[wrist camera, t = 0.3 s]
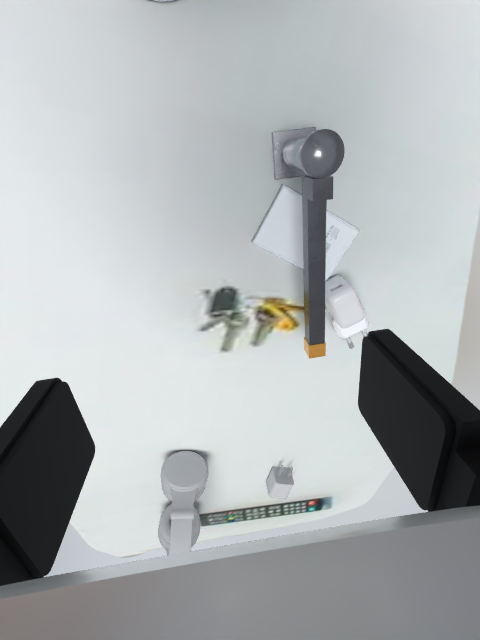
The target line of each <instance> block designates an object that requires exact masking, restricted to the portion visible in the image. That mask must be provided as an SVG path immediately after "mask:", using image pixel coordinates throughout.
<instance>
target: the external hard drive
mask: <svg viewBox="0 0 480 640" xmlns="http://www.w3.org/2000/svg"><path fill="white" fill-rule="evenodd" d="M358 232H359V230H358V229H357V228H355V227H353V226H352V225H350V224H349V223H347V222H345V221H344V220H342V219H340V218H339V217H337V216H335V215H334V214H332V213H330V212H329V211H327V210H326V269H325V281H326V280H327V279H328V278H329V276H330V275H331V273H332V272H333V270H334V269H335V267H336V266H337V264H338V263H339V261H340V260H341V258H342V257H343V255H344V254H345V252H346V251H347V249H348V248H349V246H350V245H351V243H352V242H353V240H354V239H355V237H356V236H357V234H358ZM251 242H252V243H253V244H255V245H257V246H259V247H261V248H263V249H265V250H267V251H269V252H271V253H273V254H275V255H276V256H278V257H280V258H282V259H284V260H286V261H288V262H290V263H292V264H294V265H296V266H298V267H300V268H302V269H304V263H303V216H302V195H300V194H299V193H297V192H295V191H294V190H292V189H290V188H289V187H287V186H285V185H284V184H282V185H281V187H280V189H279V191H278V193H277V194H276V196H275V198H274V200H273V202H272V204H271V206H270V207H269V209H268V211H267V213H266V215H265V217H264V219H263V220H262V222H261V224H260V226H259V228H258V230H257V232H256V233H255V235H254V237H253V239H252V241H251Z"/></svg>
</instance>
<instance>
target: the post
mask: <svg viewBox="0 0 480 640" xmlns="http://www.w3.org/2000/svg"><path fill="white" fill-rule="evenodd" d="M314 131H316V127H312V128H304V129H296V130H289V131H281V132H273V133H272V140H273V158H274V175H275V179H282V178H289V177H296V176H304V175H307V174H306V173H305V172H304V171H303V170H302V169H301V167H300V164H299V159H298V154H299V149H300V146H301V144H302V142H303V140H304V139H305V138H306V137H307V136H308V135H309V134H310V133H312V132H314Z"/></svg>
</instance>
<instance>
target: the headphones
mask: <svg viewBox="0 0 480 640" xmlns="http://www.w3.org/2000/svg"><path fill="white" fill-rule="evenodd" d="M207 478H208V466H207V463H206V461H205V460H204V458H203V457H202V456H200V455H199V454H197V453H195V452H191V451H180V452H176V453H174V454H172V455H171V456H169V457H168V458H167V459H166V460H165V462H164V464H163V466H162V470H161V482H162V490H163V493H164V494H165V496H166V497H167V498H168V499H169V500H170V501H172V504H171V505H169V506H168V507H167V508H166V509H165V510H164V512H163V513H162V516H161V518H160V524H159V528H158V536H159V540H160V543H161V545H162V546H163V547H164V548H165V550H166V552H167V555H173V554H179V553H184V552H190V551H191V547H192V546H193V545H194V544H195V543H196V541H197V539H198V536H199V532H200V517H199V513H198V511H197V509H196V508H195V507H194V501H195V500H196V499H197V498H199V496H200V495H201V494H202V492H203V490H204V488H205V484H206V481H207Z"/></svg>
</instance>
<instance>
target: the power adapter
mask: <svg viewBox="0 0 480 640" xmlns="http://www.w3.org/2000/svg"><path fill="white" fill-rule="evenodd" d="M325 306H326V308H327V310H328V312H329V313H330V315H331V316H332V317H333V326H334V328H335V330H336V332H337V335H338V337H339V338H343V339H346V341H347V343H348V346H349V348H351V349H352V348H354V345H353V343H352V341H351V339H350V336H352V335H354V334H356V333H358V332H360V331H361V332H362V334H363V337H367V335H368V334H367V332H366V330H365V328H367V327H368V325H369V322H368V319H367V317H366V314H365V312H364V309H363V308H362V306H361V304H360V301H359V299H358V296H357V294H356V291H355V289H354V288H353V287H352V286H351V284H350V283H348V282H347V281H346V280H345V279H344V278H343V277H342V276H340V275H336V276H334V277H332V278H330V279H328V280H326V281H325Z"/></svg>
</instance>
